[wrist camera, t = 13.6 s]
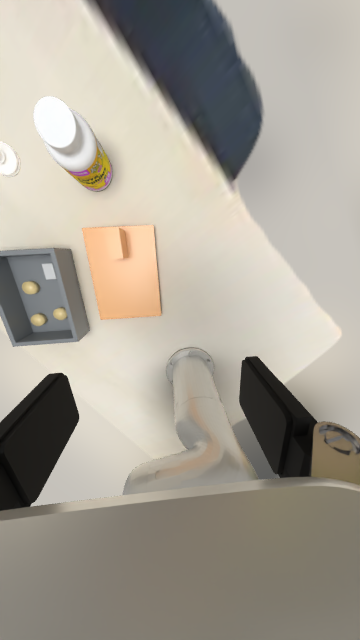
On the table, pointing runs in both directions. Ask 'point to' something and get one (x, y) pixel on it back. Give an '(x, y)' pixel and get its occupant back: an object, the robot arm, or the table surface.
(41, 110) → the supplement bottle
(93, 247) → the lid
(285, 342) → the table surface
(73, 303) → the tub
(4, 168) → the chess piece
